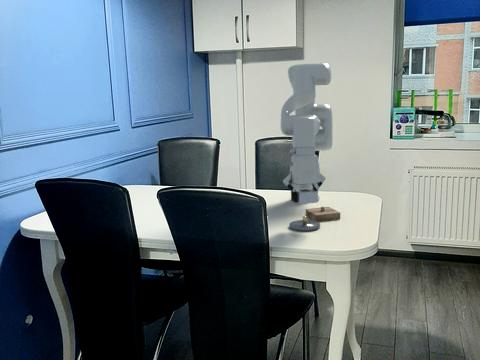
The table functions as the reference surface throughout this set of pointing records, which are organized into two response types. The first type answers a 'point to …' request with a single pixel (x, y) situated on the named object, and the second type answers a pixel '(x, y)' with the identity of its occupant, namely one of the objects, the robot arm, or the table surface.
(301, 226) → the hub
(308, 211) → the stand
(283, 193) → the table surface
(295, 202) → the robot arm
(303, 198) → the square hollow frame
